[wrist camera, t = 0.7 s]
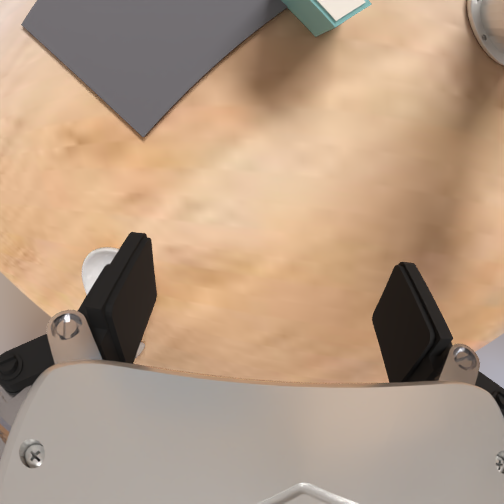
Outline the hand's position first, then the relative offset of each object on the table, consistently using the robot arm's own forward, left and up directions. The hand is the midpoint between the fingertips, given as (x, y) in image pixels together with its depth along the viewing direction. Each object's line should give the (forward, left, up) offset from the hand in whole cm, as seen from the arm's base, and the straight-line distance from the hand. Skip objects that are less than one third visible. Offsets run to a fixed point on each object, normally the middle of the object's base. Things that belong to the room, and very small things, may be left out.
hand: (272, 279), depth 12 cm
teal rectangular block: (-13, -8, -26) cm, 30 cm away
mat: (0, -22, -26) cm, 34 cm away
